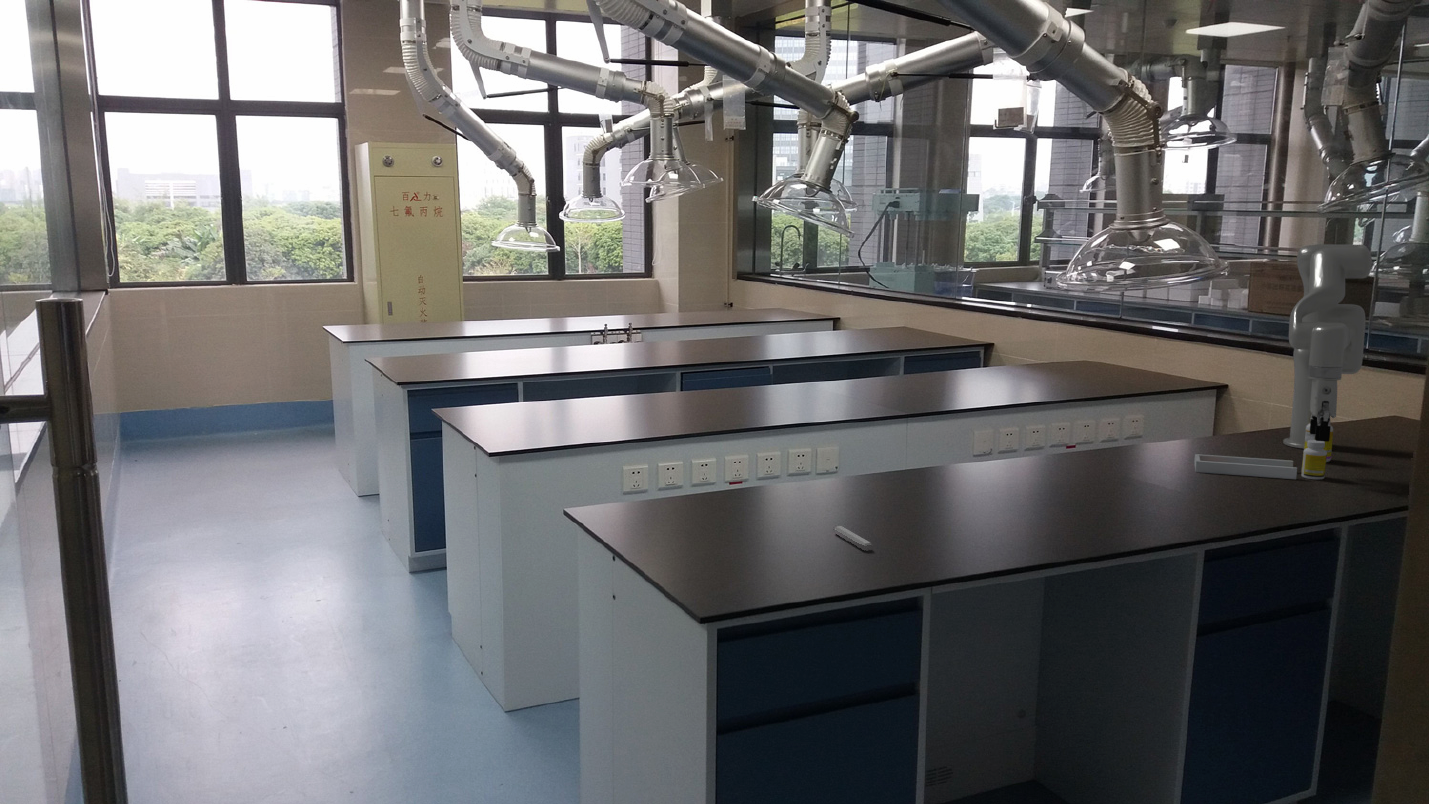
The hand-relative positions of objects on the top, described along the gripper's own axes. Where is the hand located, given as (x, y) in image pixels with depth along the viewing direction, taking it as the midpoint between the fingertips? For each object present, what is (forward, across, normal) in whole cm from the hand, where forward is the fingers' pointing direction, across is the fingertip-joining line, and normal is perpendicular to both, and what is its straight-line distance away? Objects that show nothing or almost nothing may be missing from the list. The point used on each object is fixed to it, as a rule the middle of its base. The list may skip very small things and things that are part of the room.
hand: (1319, 437), depth 269 cm
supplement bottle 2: (+11, 0, +1) cm, 11 cm away
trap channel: (+11, +1, +17) cm, 20 cm away
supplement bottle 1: (+11, +22, -3) cm, 24 cm away
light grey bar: (+13, -94, +101) cm, 138 cm away
